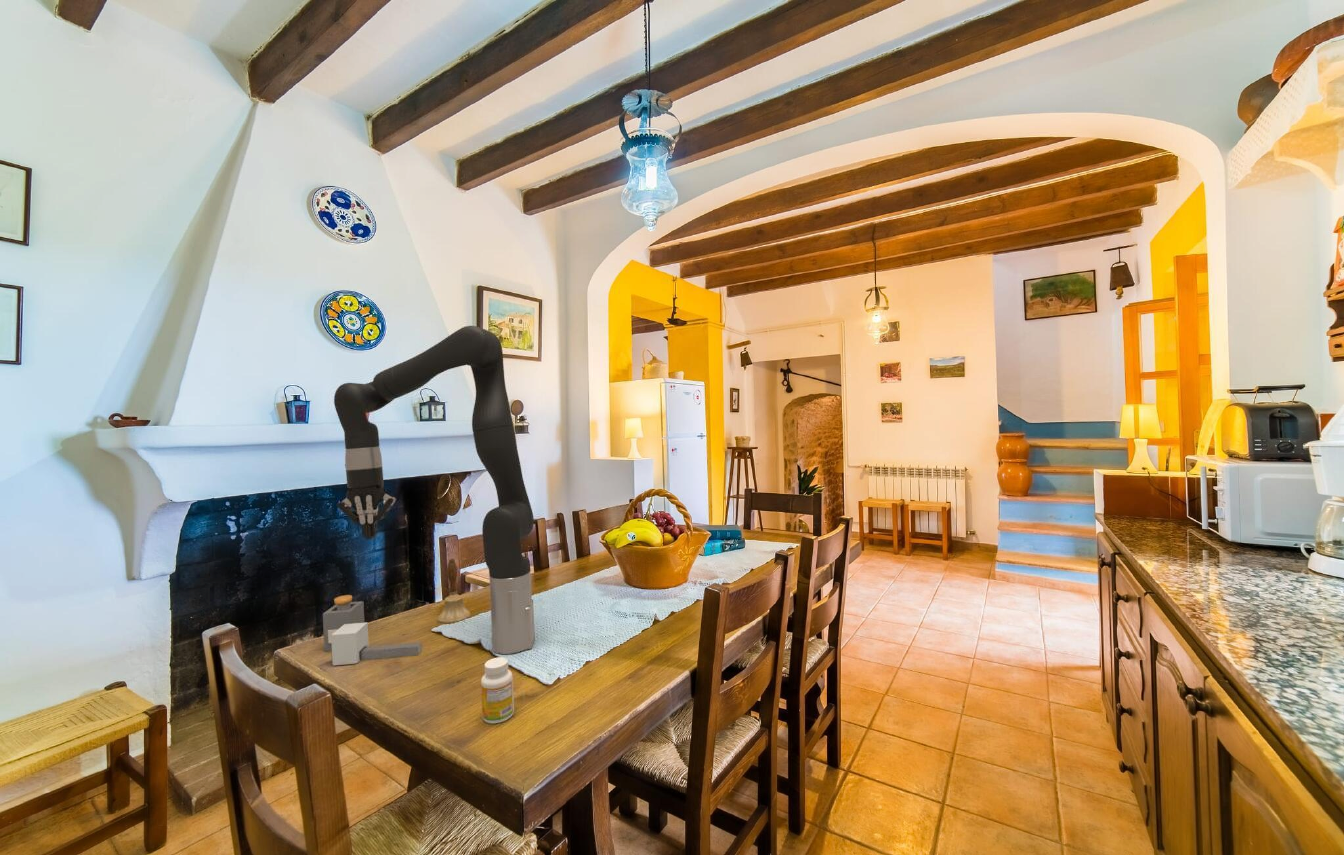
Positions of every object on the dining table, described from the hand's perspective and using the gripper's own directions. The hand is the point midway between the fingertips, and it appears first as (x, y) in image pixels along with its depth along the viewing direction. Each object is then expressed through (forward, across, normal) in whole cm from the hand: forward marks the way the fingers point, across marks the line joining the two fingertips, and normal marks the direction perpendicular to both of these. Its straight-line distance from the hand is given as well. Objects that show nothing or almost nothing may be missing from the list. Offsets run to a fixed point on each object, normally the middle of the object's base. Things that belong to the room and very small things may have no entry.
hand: (370, 538), depth 124 cm
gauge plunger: (+19, +8, -2) cm, 21 cm away
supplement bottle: (+28, -34, +37) cm, 58 cm away
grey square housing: (+25, +8, -2) cm, 27 cm away
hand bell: (+26, -14, -14) cm, 33 cm away
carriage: (+26, +3, +7) cm, 27 cm away
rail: (+26, -3, +7) cm, 27 cm away
